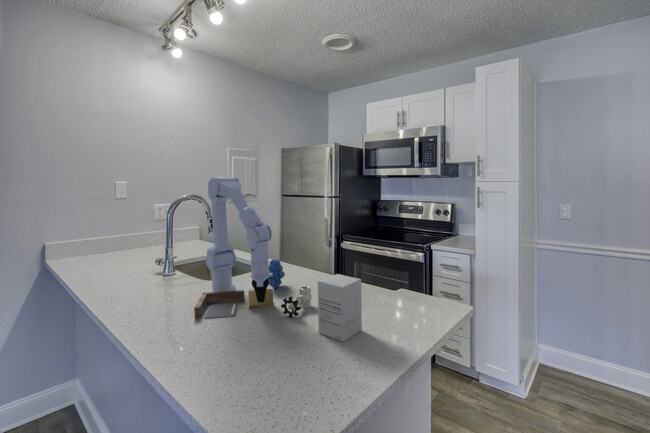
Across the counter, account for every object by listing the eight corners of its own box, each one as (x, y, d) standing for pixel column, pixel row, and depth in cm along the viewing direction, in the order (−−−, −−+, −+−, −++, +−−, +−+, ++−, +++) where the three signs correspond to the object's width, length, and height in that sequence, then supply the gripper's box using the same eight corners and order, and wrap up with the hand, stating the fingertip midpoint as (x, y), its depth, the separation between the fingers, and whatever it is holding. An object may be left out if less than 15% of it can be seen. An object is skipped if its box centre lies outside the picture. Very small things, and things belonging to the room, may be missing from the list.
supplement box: (337, 322, 98) (336, 273, 96) (362, 330, 92) (362, 278, 91) (317, 333, 91) (316, 280, 89) (343, 342, 85) (343, 286, 84)
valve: (299, 303, 114) (281, 316, 103) (299, 284, 113) (280, 295, 102) (316, 306, 111) (299, 319, 100) (316, 287, 110) (299, 298, 99)
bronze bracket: (249, 308, 109) (248, 291, 108) (249, 303, 114) (249, 286, 113) (273, 306, 110) (272, 289, 110) (273, 301, 115) (272, 284, 115)
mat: (210, 305, 112) (210, 304, 112) (237, 303, 113) (237, 302, 113) (204, 318, 101) (204, 317, 101) (234, 316, 102) (234, 315, 102)
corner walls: (203, 302, 115) (203, 292, 114) (244, 299, 117) (244, 290, 117) (194, 318, 101) (194, 307, 101) (241, 315, 103) (241, 304, 103)
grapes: (278, 294, 122) (278, 262, 121) (262, 292, 124) (261, 261, 123) (291, 284, 133) (290, 255, 132) (276, 283, 135) (275, 254, 134)
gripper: (272, 266, 102) (273, 308, 104) (271, 255, 116) (272, 292, 118) (249, 267, 101) (250, 309, 102) (251, 256, 115) (252, 294, 117)
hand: (261, 300), depth 110 cm, fingers closed
